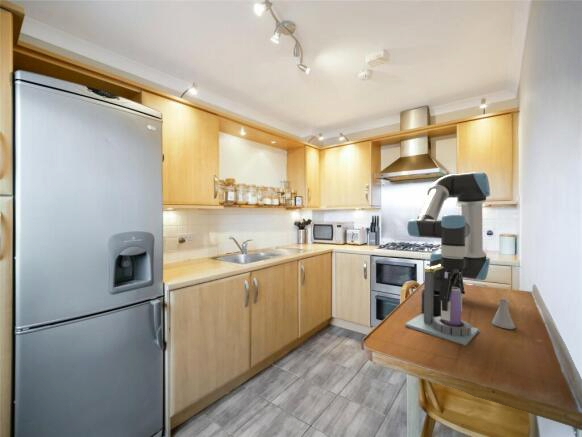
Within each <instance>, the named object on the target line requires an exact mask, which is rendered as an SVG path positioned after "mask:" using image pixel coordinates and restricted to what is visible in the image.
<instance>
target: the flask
mask: <svg viewBox="0 0 582 437" xmlns="http://www.w3.org/2000/svg"><path fill="white" fill-rule="evenodd" d="M497 299H498V298H497ZM498 302H499V304H498V309H497V311H496V313H495V315H494V316H493V319H492V320H491V324H492V325H493V326H495V327H498V328H501V329H502V328H503V329H506V330H513V329H516V326H515V323H514V321H513V319H512V316H511V313H510V311H509V303H510V301H509V300H507V299H505V298H504V299H503V298H499V299H498Z"/></svg>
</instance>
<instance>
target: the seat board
mask: <svg viewBox="0 0 582 437" xmlns="http://www.w3.org/2000/svg"><path fill="white" fill-rule="evenodd" d="M423 285H424V286H423V288H424V289H423V290H424V313H421V314H419V315H418V316H415V317H414V318H412V319H410V320H409V321H407V322H405V323H404V326H405V327H406V328H408V329H413V330H416V331H419V332H422V333H426V334H428V335H431V336H434V337H437V338H441V339H444V340H446V341H447V340H448V341H451V342H454V343H457V344H460V345H463V346H467V345H468V344H469V343H470V342H471V341H472V340H473V339H474V337H475V336H476V335H477V334H478V332H479V328H476V327H473V326H472V325H471V324H470V323H469V322H467V321H465V320H463V319H461V327H455V326H449V325H446V324H444V323H442V319H441V316H433V298H434V273H429V272H424V284H423Z"/></svg>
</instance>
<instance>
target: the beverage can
mask: <svg viewBox="0 0 582 437" xmlns="http://www.w3.org/2000/svg"><path fill="white" fill-rule="evenodd" d="M449 302H450V321H447V320H444V319H442V323H444V324H446V325H449V326H455V327H461V320H462V312H461V291H460V288H458V287H453V288H452V292H451V296H450V300H449Z"/></svg>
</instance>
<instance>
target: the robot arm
mask: <svg viewBox="0 0 582 437" xmlns="http://www.w3.org/2000/svg"><path fill="white" fill-rule="evenodd" d="M489 182H490V181H489V178H488V175H487V174H486V173H485V172H469V173H466V172H465V173H458V174H457V173H454V174H447V175H445V176H442V177H440V178H438V179H437V180H436V181H434V182H433V183H432V184H431V185H430V186H429V188H428V190H427V197H426V199H425V202H424V203H423V205H422V208H421V210H420V212H419V214H418V216H417V218H415V219H409V220H408V222H407V229H406V230H407V233H408V236H410V237H415V238H428V239H432V238H433V239H441V241H440V242H441V245H440V246H439V249H440V251H437V252H431V254H430V256H429V257H430V258H429V267H432V266H436V265H439V264H441V266H442V267H444V268H442V269H439V270H436V271H435V272H434V290H438V291H440V293H439V298H438V300H441V319H444V320H447V321H450V302H449V300H450V296H451V292H452V288H453V287H458V288H460V291H461V313H462V312H463V295H465V294H466V291H465V288H464V287H465V284H464V280H463V279H468V280H474V281H486V279H487V277H488V273H489V268H490V262H491V258H490V257H487V253H486V252H485V251H484V250H483V204H484V203H485V202H486V201H487V198H488V197H490V196H491V189H490V183H489ZM451 198H457V203H459V204H460V205H461V206H460V207H461V209H460V210H461V214H444V215H442V217H441V219H438V217H440V216H439V215H440V213H441V210H442V208H443V206H444V203H445V201H447V199H451Z"/></svg>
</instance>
